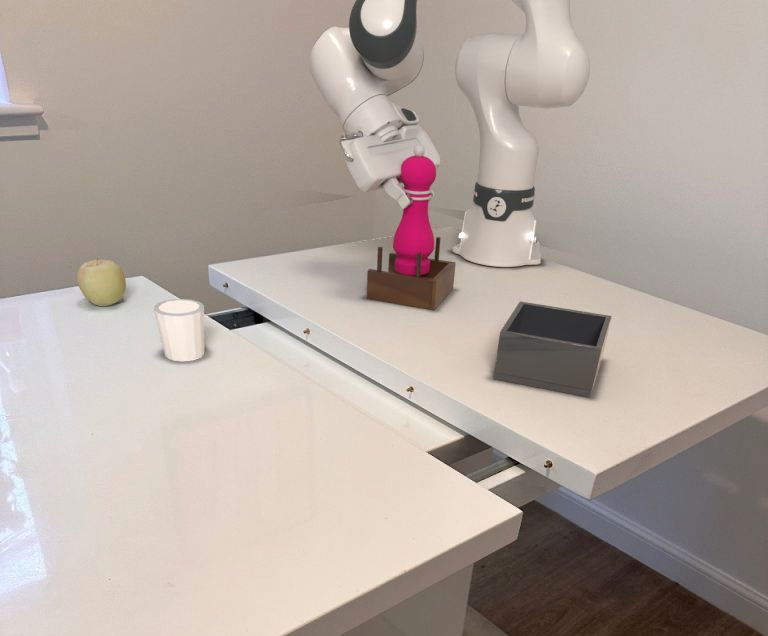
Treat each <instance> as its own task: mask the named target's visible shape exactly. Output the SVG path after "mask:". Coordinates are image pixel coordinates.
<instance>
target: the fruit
mask: <svg viewBox="0 0 768 636" xmlns="http://www.w3.org/2000/svg"><path fill="white" fill-rule="evenodd" d="M100 257H101V255H100V254H98V255H97V258H96V259H92V260H88V261H86V262H84V263H83V264H81V265H80V266H79V268H78V270H77V273H76V282H77V286H78V288H79V290H80V291H81V294H82V295H83V297H85V298H86V300H88V302H90V303H91V304H93V305H95V306H99V307H108V306H112V305H114V304H116V303H118V302H119V301H121V299H122V298H123V297H124V296H125V292H126V287H127V281H126V277H125V274H124V272H123V270H122V268H121V266H120V265H118V263H116V262H115V261H113V260H111V259H100Z"/></svg>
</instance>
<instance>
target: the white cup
mask: <svg viewBox="0 0 768 636" xmlns="http://www.w3.org/2000/svg"><path fill="white" fill-rule="evenodd" d="M153 313H154V316H155V320H156V324H157V329H158V334H159V336H160V337H159V338H160V341H161V344H162V350H163V353H164V356H165V358H166V359H168V360H170V361H173V362H192V361H196V360H198V359H201V358H203V357H204V356H205V352H206V351H205V305H204V304H203V303H202V302H201V301H198V300H194V299H189V298H175V299H168V300H167V299H166V300H163V301H161V302H158V303H157V304H155V305H154V307H153Z"/></svg>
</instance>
